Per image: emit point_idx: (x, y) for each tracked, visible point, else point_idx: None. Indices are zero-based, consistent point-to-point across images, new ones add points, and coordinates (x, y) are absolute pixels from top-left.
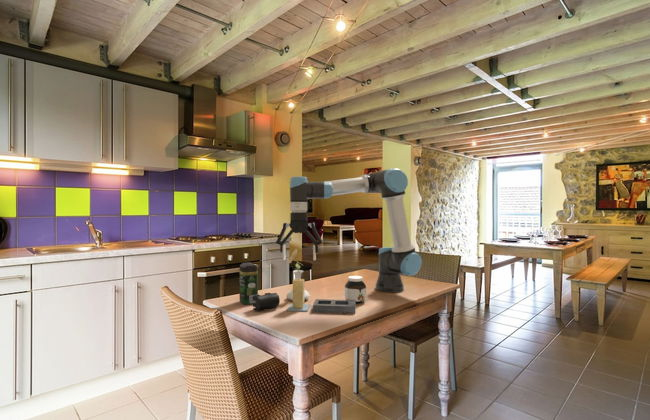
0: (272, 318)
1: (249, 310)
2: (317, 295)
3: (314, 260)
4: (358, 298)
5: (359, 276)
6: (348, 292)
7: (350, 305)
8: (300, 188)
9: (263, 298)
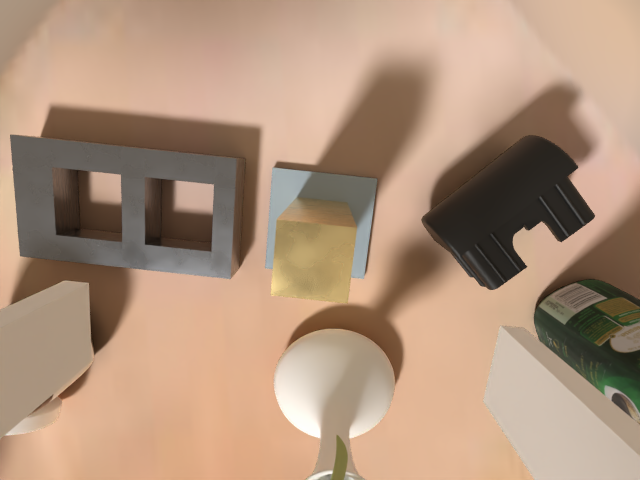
0: (437, 55)
1: None
2: (244, 438)
3: (73, 281)
4: None
5: None
6: None
7: (37, 156)
8: None
9: (526, 164)
